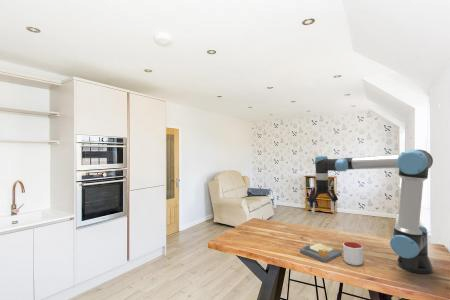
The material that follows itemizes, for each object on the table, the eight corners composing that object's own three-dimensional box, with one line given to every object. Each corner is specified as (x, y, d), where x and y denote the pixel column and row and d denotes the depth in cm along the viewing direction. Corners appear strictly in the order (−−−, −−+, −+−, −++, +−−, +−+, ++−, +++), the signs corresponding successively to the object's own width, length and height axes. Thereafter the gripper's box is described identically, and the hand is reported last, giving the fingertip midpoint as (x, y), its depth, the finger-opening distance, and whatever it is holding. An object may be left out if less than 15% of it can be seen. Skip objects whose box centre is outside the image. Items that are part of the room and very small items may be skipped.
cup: (365, 266, 135) (365, 248, 135) (346, 265, 137) (345, 247, 137) (359, 259, 145) (359, 242, 145) (341, 258, 147) (341, 241, 147)
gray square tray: (341, 255, 151) (341, 247, 151) (325, 263, 141) (325, 254, 141) (316, 246, 165) (316, 238, 165) (299, 252, 156) (299, 244, 156)
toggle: (327, 256, 144) (327, 249, 144) (324, 258, 142) (324, 251, 142) (321, 254, 147) (321, 247, 147) (318, 255, 146) (318, 248, 146)
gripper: (336, 178, 165) (337, 209, 164) (301, 179, 161) (302, 211, 161) (343, 179, 157) (344, 212, 157) (306, 180, 154) (307, 214, 154)
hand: (323, 212), depth 159 cm, fingers open, 13 cm apart
